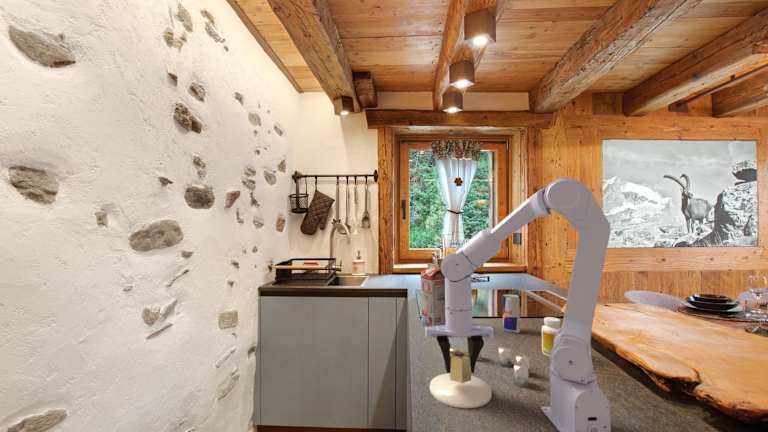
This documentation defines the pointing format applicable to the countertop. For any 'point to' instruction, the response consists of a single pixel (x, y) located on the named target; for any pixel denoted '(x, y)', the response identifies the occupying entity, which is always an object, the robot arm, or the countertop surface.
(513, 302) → the energy drink
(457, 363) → the brass nut
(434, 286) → the juice carton
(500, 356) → the spacer field
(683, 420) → the countertop surface
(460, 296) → the robot arm
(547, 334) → the supplement bottle
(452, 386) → the ceramic plate
